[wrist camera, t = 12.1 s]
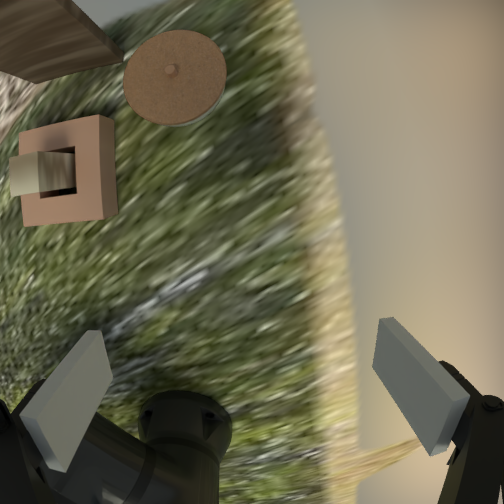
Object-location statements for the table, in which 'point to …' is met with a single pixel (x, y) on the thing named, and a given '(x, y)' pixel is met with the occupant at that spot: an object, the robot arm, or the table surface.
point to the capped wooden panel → (51, 40)
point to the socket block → (87, 171)
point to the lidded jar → (175, 78)
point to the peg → (41, 172)
